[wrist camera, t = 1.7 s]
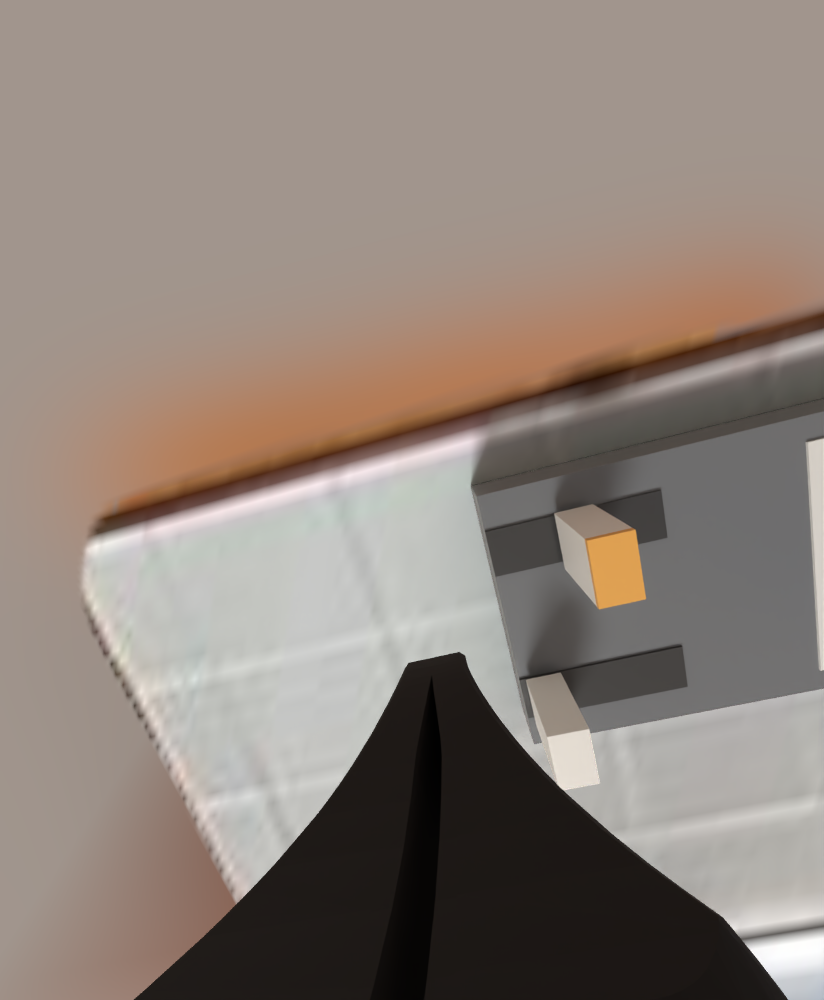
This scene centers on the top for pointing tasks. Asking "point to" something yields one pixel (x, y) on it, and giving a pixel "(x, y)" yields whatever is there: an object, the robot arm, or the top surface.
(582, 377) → the top surface
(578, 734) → the handle
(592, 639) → the box
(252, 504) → the top surface
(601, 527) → the breaker handle
